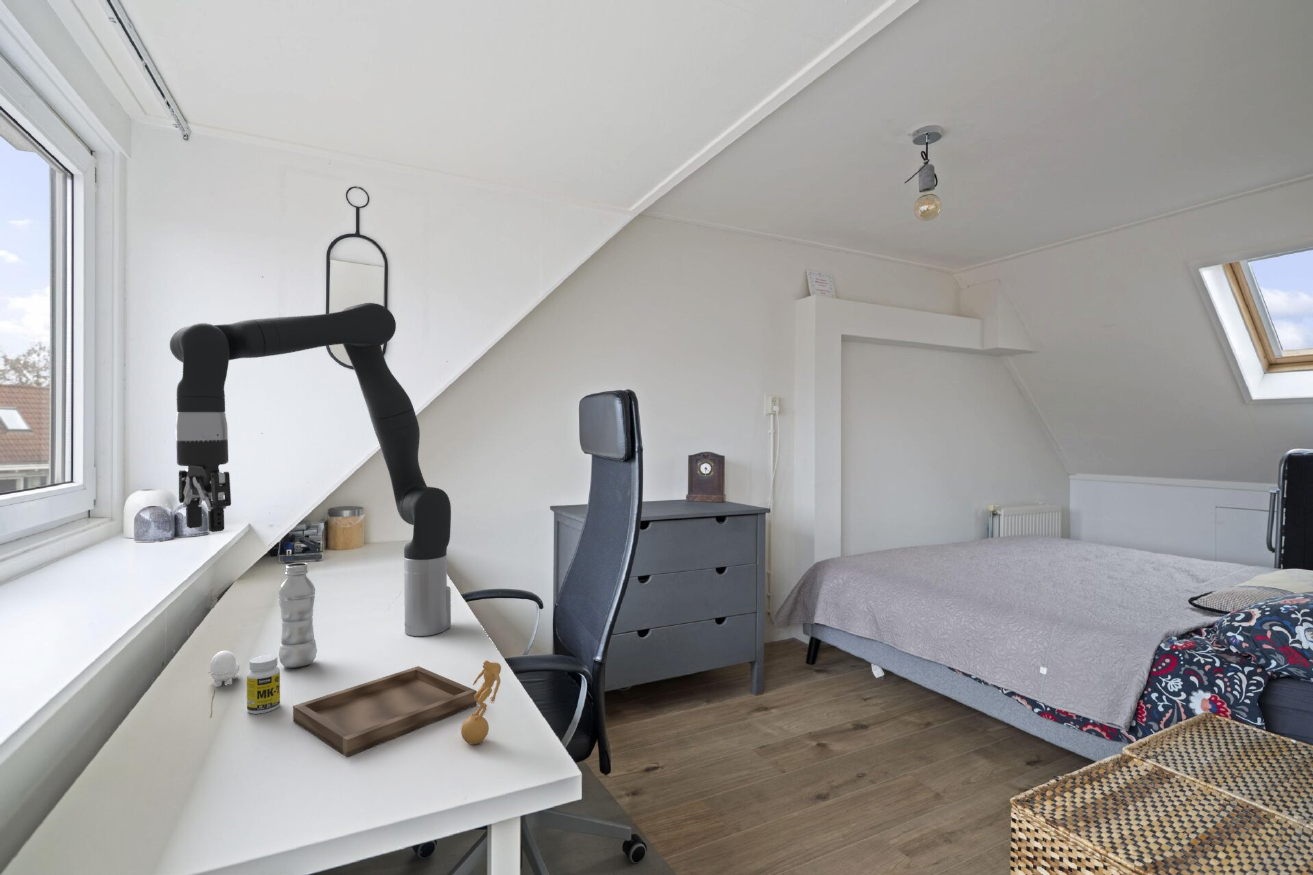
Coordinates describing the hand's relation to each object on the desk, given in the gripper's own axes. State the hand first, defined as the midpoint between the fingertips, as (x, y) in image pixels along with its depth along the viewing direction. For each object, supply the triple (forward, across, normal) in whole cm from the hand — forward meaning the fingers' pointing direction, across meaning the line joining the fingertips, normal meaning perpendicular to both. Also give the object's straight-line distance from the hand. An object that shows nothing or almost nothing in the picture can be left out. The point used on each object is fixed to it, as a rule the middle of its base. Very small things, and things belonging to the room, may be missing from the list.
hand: (205, 529), depth 116 cm
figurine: (+30, -55, -14) cm, 64 cm away
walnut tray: (+29, -35, -12) cm, 47 cm away
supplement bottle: (+29, -16, -2) cm, 33 cm away
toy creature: (+29, +2, -3) cm, 30 cm away
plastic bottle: (+29, -1, -15) cm, 33 cm away
